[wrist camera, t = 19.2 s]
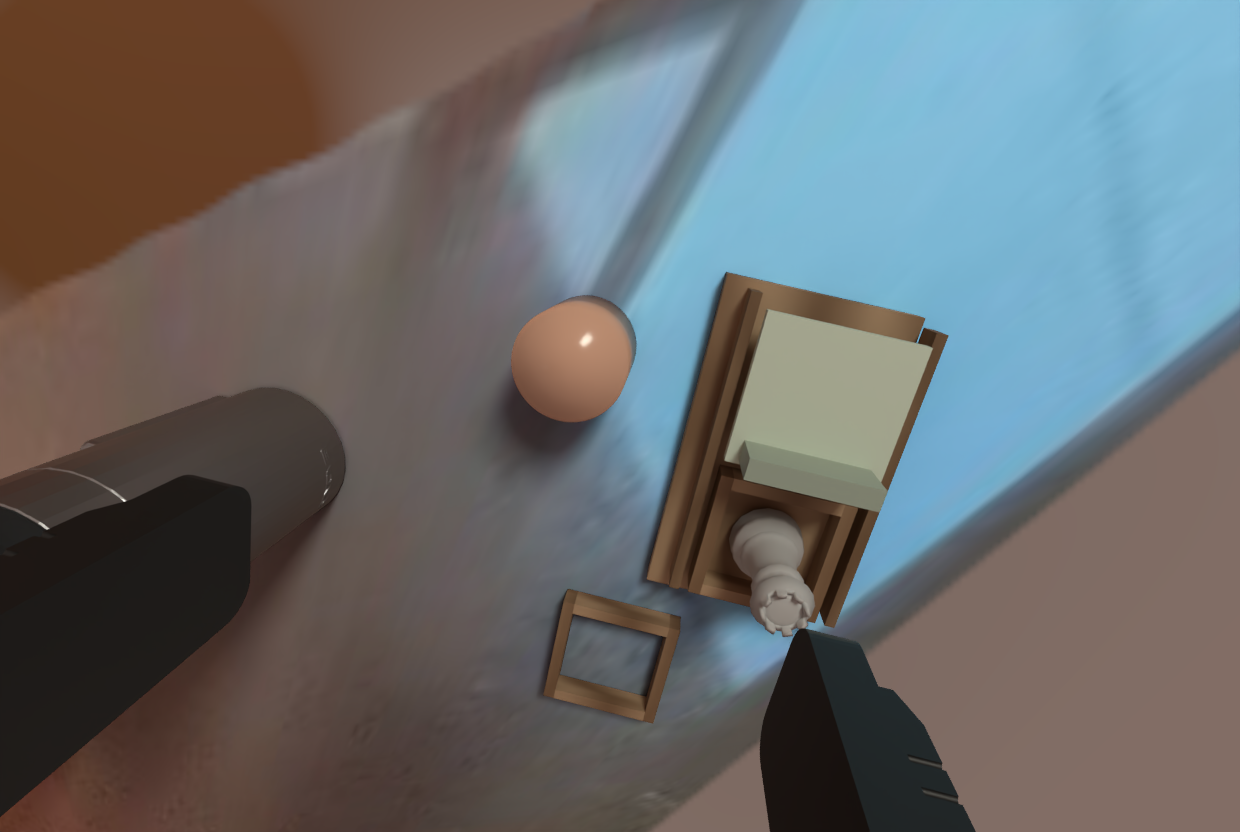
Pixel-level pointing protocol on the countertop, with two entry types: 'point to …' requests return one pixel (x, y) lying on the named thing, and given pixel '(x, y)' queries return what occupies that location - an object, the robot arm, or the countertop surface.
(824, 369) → the cover
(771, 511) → the rook chess piece
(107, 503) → the robot arm
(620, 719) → the countertop surface
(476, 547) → the countertop surface
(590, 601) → the wooden square frame
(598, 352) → the tan rounded block
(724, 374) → the shallow wooden box
